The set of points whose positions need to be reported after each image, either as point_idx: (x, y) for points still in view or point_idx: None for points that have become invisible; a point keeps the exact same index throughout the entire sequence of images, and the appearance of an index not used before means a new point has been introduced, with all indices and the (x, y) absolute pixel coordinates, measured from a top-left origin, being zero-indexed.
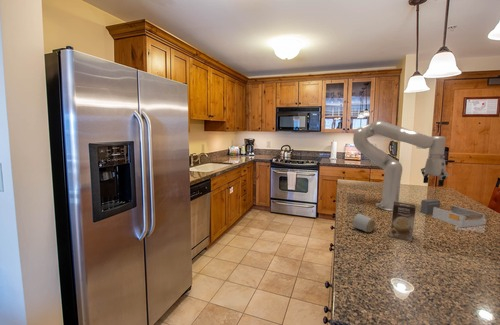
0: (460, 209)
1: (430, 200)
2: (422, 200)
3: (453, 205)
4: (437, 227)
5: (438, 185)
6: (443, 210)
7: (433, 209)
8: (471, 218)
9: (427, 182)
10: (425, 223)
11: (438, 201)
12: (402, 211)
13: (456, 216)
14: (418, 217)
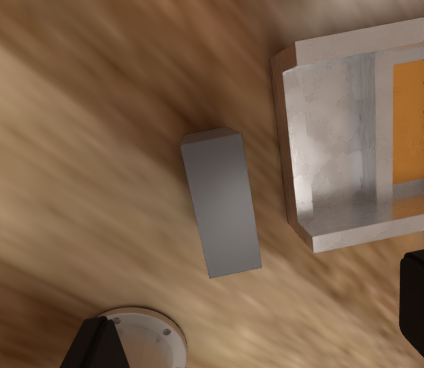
0: (359, 54)
1: (226, 217)
2: (217, 276)
3: (296, 48)
4: None
5: (415, 342)
6: (382, 238)
7: (308, 244)
8: (409, 49)
9: (114, 334)
10: (357, 314)
11: (244, 154)
12: None
13: None
14: (282, 294)
